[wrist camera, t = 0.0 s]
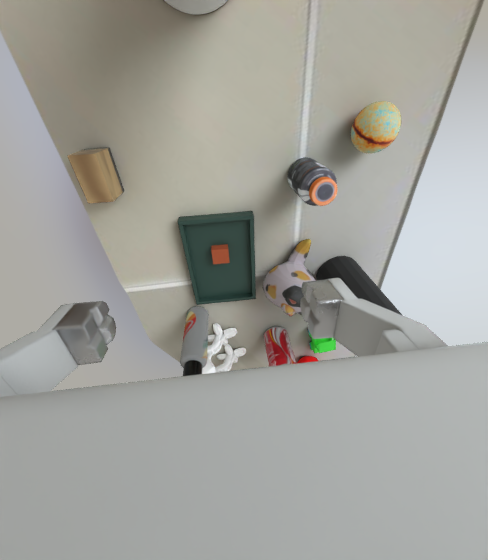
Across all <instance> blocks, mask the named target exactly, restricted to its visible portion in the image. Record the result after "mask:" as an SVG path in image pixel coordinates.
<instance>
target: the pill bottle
mask: <svg viewBox="0 0 488 560" xmlns="http://www.w3.org/2000/svg"><path fill="white" fill-rule="evenodd" d="M288 183H289V185H290V186H291V188H292V189H293V190H294V191H295V192H296V193H297V194H298V195H299V197H300V198H301V199H302V200H303V201H304V202H305V203H307V204H309V205H313V206H316V205H320V206H323V205H327V204H329V203H330V202H331V201H333V199H334V198H335V197H336V194H337V185H336V184H337V182H336V177H335V175H334V173H333V172H332V171H331V170H330V169H328V168H326V167H325V166H323V165H322V164H320V163H318V162H316V161H315V160H313V159H311V158H301V159H298V160H297V161H295V162H294V163H293V164H292V166H291V167H290V169H289V172H288Z"/></svg>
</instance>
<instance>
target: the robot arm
mask: <svg viewBox="0 0 488 560" xmlns="http://www.w3.org/2000/svg"><path fill="white" fill-rule="evenodd" d="M164 1H165V2H166V3H168V4H169V5H170V6H172V7H174V8H175V9H177V10H179V11H182V12H184V13H188V14H194V15H200V14H206V13H210V12H212V11H214V10H216V9H218V8H219V7H221V6H222V5H223V4H224V3H226V2H227V1H228V0H164ZM301 291H302V293H303V295H304V296H303V297H302V298H301V304H300V306H301V313H302V317H303V319H304V321H306V322H308V330H309V332H310V334H311V336H312V338H313V339H322V338H334V339H335V340H336V341H338V342H339V343H340V344H342V345H343V346H344V347H346V348H347V349H348V350H350V351H351V352H353V353H354V354H355V355H357V356H358V357H349V358H341V359H332V360H323V361H315V362H306V363H297V364H288V365H279V366H270V367H261V368H252V369H243V370H234V371H225V372H216V373H208V374H199V375H190V376H181V377H173V378H164V379H156V380H146V381H137V382H128V383H120V384H111V385H102V386H93V387H84V388H75V389H66V390H57V391H51V390H52V389H53V388H54V387H56V386H57V385H58V384H59V383H60V382H61V381H62V380H63V379H65V378H66V377H67V376H68V375H69V374H70V373H71V372H73V371H74V370H75V369H76V368H77V367H78V365H83V364H91V363H98V362H101V361H102V359H103V358H104V355H105V354H106V352H107V350H108V347H107V344H109V343H110V342H111V341H112V340H113V339H114V336H115V333H116V325H115V321H114V319H113V318H112V317H111V316H109V315H108V312H109V308H108V306H107V304H106V303H105V302H103V301H99V302H85V303H73V304H65V305H61V306H60V307H59V308H58V309H57V311H56V312H55V313H54V314H53V315H52V316H51V317H50V318H49V319H48V320H47V321H46V322H45V323H44V324H43V325H42V326H41V327H40V328H39V329H38V330H37V331H36V332H31V333H29V334H28V335H26V336H24V337H22V338H20V339H18V340H16V341H14V342H13V343H10V344H9V345H7V346H5V347H3V348H1V349H0V560H488V342H482V343H473V344H465V345H456V346H447V345H446V344H445V343H444V342H443V341H442V340H441V339H440V338H439V337H438V336H437V335H435V334H434V333H433V332H432V331H431V330H430V329H429V328H428V327H427V326H426V325H424V324H421V323H419V322H417V321H414V320H412V319H409V318H407V317H405V316H402V315H400V314H397V313H395V312H393V311H390V310H388V309H385V308H383V307H381V306H378V305H376V304H373V303H371V302H369V301H366V300H364V299H358V298H357V297H356V296H355V295H354V294H353V293H352V291H351V290H350V289H349V288H348V287H347V286H346V284H345V283H344V282H343V281H342V280H341V279H340V278H332V279H325V280H316V281H308V282H303V284H302V290H301Z"/></svg>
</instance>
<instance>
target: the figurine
mask: <svg viewBox="0 0 488 560" xmlns="http://www.w3.org/2000/svg"><path fill="white" fill-rule="evenodd" d="M310 244H311V240H310V239H306V240H303V241H301V242H300V243H299V244H298V245H297V246H296V247H295V249H294V250H293V252H292V253H291V255H290V257H289V260H288V261H287V262H285V263H283V264H280V265H277V266H275V267H274V268H273V269H272V270H271V271H269V273H268V274H267V276H266V277H265V279H264V282H263V290H264V293H265V295H266V297H267V298H268V299H269V300H270V301H271V302H272V303H274V304H275V305H277V306H278V307H280V308H282V310H283V311H284V313H285V314H286V315H289V316H292V315H294V314H295V313H298V314H299V315H302V313H301V306H300V304H301V298H302V297H303V296H304V295H303V293H302V291H301V290H302V284H303V282H308V281H316V280H315V279H314V277H313V276H312V274H311V273H310V271H309V270H308V269H306V268H305V266H304V262H305V259H306V257H307V254H308V252H309V249H310Z"/></svg>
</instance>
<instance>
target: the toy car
mask: <svg viewBox="0 0 488 560" xmlns="http://www.w3.org/2000/svg"><path fill="white" fill-rule="evenodd" d="M308 332H309V330H308ZM309 336H310V337H311V339H312V342H310V348H311V350H313V351H314V353H318V352H319V353H322V352H327V351H331V350H336V340H335V339H334V340H332V338H322V339H313V338H312V336H311V334H310V332H309Z"/></svg>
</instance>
